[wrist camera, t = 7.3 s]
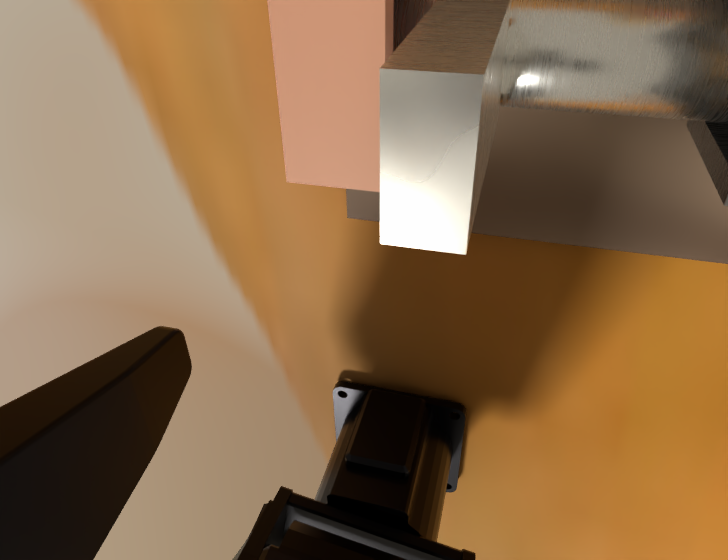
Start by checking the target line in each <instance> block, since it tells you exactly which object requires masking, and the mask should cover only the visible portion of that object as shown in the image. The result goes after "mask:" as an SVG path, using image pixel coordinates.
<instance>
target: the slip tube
mask: <svg viewBox="0 0 728 560" xmlns="http://www.w3.org/2000/svg"><path fill="white" fill-rule="evenodd" d="M499 106H501V107H515V108H529V109H543V110H557V111H571V112H585V113H599V114H613V115H627V116H641V117H655V118H669V119H683V120H697V121H711V122H725V123H728V0H394V12H393V53H392V54H391V55H390V57H389V58H388V59H387V60H386V61H385V63H384V64H383V65H382V66H381V67H380V244H386V245H393V246H401V247H409V248H416V249H424V250H432V251H439V252H447V253H455V254H463V255H466V253H467V248H468V244H469V240H470V236H471V231H472V227H473V223H474V219H475V215H476V210H477V206H478V202H479V198H480V193H481V189H482V185H483V181H484V176H485V172H486V168H487V164H488V159H489V155H490V151H491V147H492V142H493V138H494V134H495V130H496V125H497V119H498V111H499Z"/></svg>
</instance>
